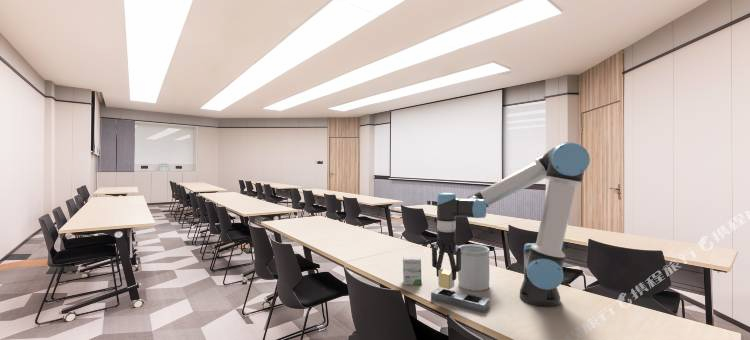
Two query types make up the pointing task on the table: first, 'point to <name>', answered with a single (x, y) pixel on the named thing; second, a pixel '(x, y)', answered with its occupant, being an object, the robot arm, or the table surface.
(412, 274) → the ink box
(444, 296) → the grey slotted tray
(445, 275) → the block
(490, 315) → the table surface
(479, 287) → the utensil holder
